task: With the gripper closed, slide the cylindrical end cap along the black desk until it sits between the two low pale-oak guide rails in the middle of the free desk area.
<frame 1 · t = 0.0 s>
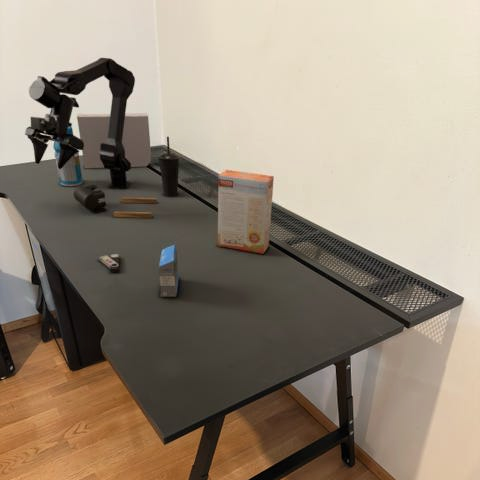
hand: (47, 165, 139), 15 cm above the table, tool tilted 35°, fingers open, 9 cm apart
cracker box: (243, 247, 132), on the table
drinking cup: (170, 194, 166), on the table
usb flash drive: (109, 265, 120), on the table
bay: (136, 209, 152), on the table
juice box: (170, 288, 112), on the table
beverage bottle: (71, 183, 171), on the table
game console: (118, 166, 191), on the table
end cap: (91, 208, 152), on the table
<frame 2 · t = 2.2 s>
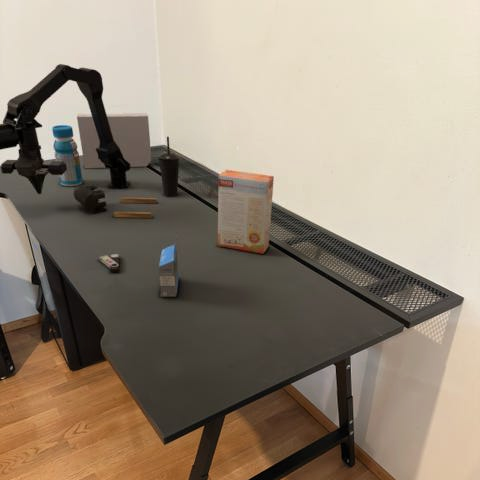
hand: (39, 193, 148), 5 cm above the table, tool pointing down, fingers closed
nothing on the table moved.
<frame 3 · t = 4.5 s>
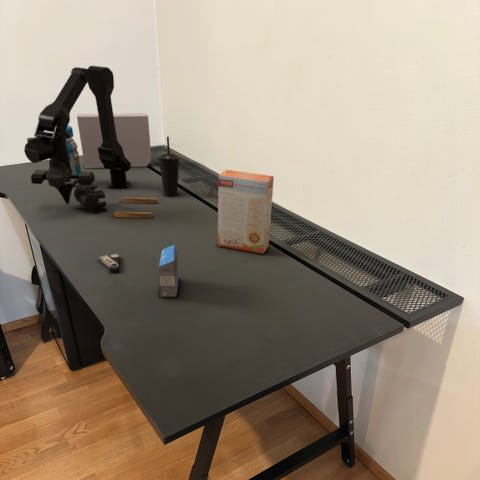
hand: (67, 203, 150), 1 cm above the table, tool pointing down, fingers closed
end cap: (91, 208, 152), on the table, touching gripper
everything else where it was.
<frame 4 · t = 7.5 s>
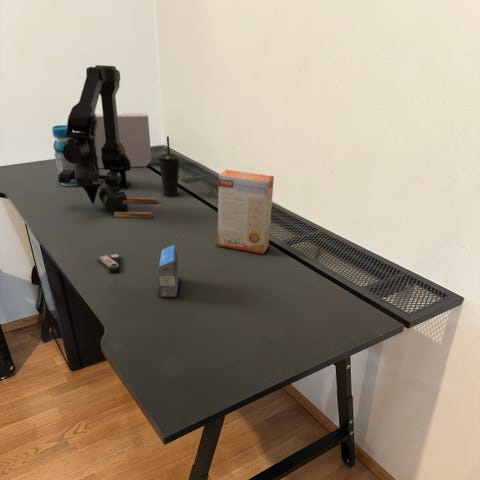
hand: (93, 203, 150), 2 cm above the table, tool pointing down, fingers closed
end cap: (114, 210, 152), on the table, touching gripper
everything else where it was.
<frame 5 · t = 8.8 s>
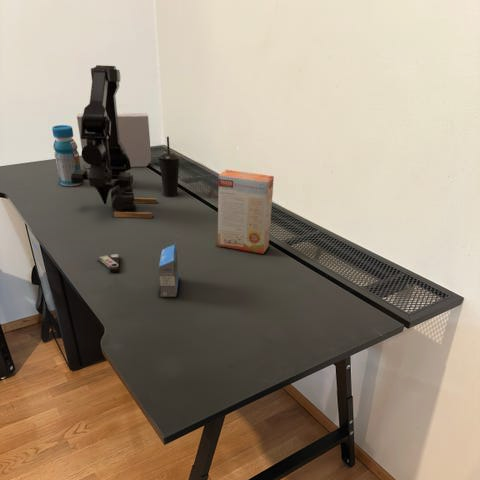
hand: (105, 203, 151), 2 cm above the table, tool pointing down, fingers closed
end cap: (123, 210, 152), on the table, touching bay, gripper
everything else where it was.
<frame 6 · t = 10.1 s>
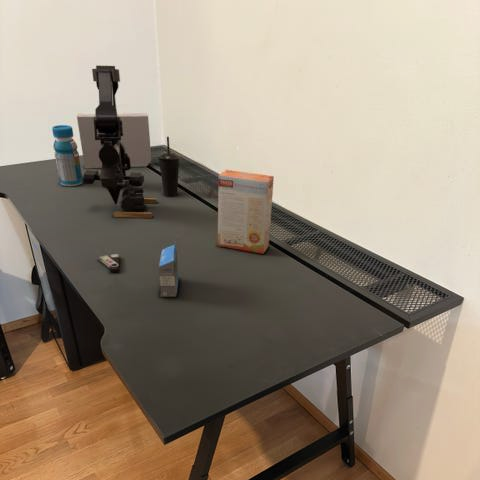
hand: (116, 203, 151), 2 cm above the table, tool pointing down, fingers closed
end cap: (133, 210, 152), on the table, touching gripper
everything else where it was.
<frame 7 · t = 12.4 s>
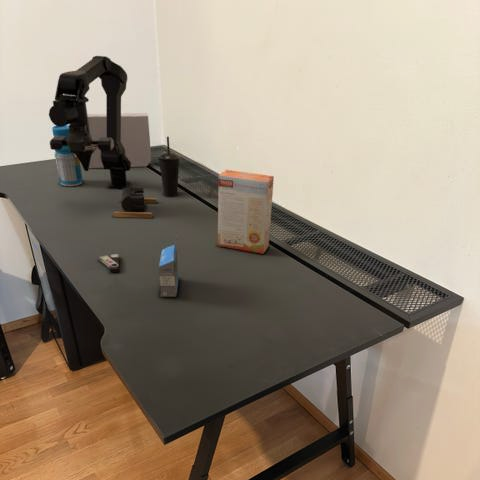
hand: (86, 170, 149), 11 cm above the table, tool pointing down, fingers closed
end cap: (134, 210, 152), on the table, touching bay
everything else where it was.
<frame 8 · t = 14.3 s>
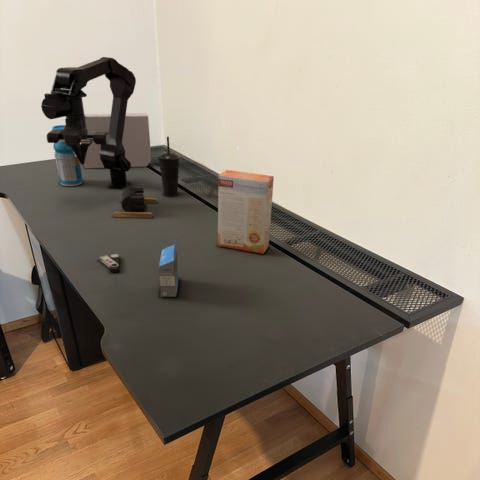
hand: (82, 164, 152), 12 cm above the table, tool pointing down, fingers closed
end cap: (134, 210, 152), on the table
everything else where it was.
at the end: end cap inside the target area on the bay (1.0 cm from its centre), point 0.0 cm above the bay's base; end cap moved 14.3 cm from its start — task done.
